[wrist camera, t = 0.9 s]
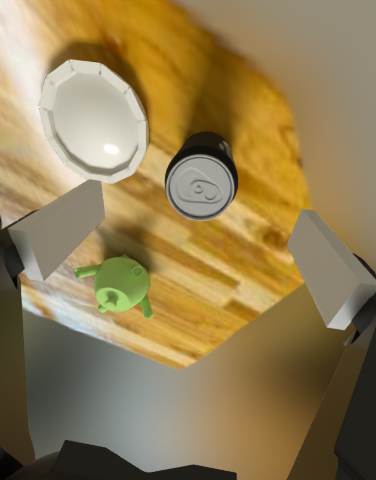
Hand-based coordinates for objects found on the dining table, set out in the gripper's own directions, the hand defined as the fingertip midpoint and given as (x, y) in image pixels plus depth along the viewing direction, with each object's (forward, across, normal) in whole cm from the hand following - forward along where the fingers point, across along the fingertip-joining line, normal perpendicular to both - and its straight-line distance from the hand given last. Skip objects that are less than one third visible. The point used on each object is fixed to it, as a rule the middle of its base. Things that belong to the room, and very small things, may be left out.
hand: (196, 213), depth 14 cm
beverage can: (+16, 0, 0) cm, 17 cm away
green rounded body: (+16, -11, -21) cm, 29 cm away
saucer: (+16, -14, +2) cm, 22 cm away
